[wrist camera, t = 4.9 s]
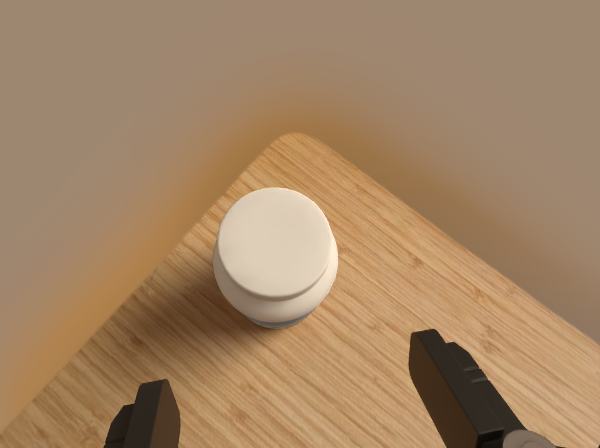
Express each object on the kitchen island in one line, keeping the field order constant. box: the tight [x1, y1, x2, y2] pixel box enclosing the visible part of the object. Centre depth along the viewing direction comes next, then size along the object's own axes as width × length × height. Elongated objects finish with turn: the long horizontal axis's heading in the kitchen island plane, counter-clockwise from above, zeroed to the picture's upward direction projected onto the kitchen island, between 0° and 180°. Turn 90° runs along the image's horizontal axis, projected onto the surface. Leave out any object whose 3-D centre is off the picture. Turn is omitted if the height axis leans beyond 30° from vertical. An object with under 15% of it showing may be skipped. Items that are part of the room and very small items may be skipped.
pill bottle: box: [213, 187, 338, 329], centre depth 20 cm, size 6×6×11 cm
